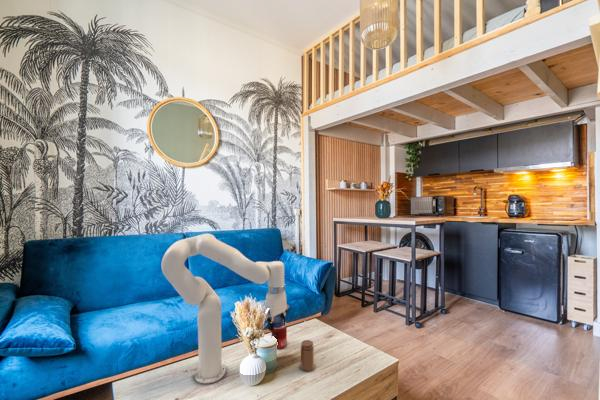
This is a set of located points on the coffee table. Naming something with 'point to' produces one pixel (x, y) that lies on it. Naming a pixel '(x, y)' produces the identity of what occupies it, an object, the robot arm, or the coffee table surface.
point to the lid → (278, 322)
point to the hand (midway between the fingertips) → (276, 327)
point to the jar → (307, 355)
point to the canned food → (280, 336)
